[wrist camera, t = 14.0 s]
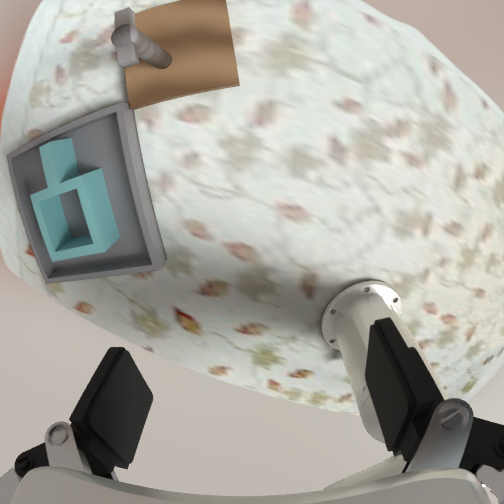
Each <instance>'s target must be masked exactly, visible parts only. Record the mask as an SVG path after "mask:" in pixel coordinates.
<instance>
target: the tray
mask: <svg viewBox="0 0 504 504" xmlns="http://www.w3.org/2000/svg"><path fill="white" fill-rule="evenodd" d="M68 138H72V142H73V148H74V152H75V157H76V162H77V166H78V171H79V175H82V174H85V173H88V172H91V171H94V170H97V169H100V168H102V172H103V176H104V180H105V184H106V188H107V192H108V196H109V200H110V203H111V207H112V211H113V214H114V217H115V221H116V224H117V228H118V231H119V234H120V238H119V239H118V240H117V241H116V242H115V243H114V244H113V245H112V246H111V247H110V248H109V249H108V250H107V251H106V252H102V253H97V254H91V255H86V256H80V257H75V258H70V259H65V260H60V261H54V262H52V260H51V258H50V255H49V252H48V250H47V247H46V244H45V242H44V239H43V236H42V233H41V230H40V227H39V224H38V221H37V218H36V215H35V211H34V208H33V204H32V201H31V197H30V195H32V194H34V193H36V192H38V191H41V190H43V189H45V188H48V186H47V182H46V178H45V174H44V169H43V165H42V160H41V155H40V150H39V147H41V146H43V145H45V144H47V143H49V142H51V141H56V140H62V139H68ZM7 159H8V164H9V169H10V174H11V179H12V183H13V187H14V192H15V195H16V199H17V203H18V207H19V210H20V214H21V217H22V220H23V224H24V227H25V230H26V233H27V236H28V239H29V242H30V244H31V247H32V250H33V253H34V255H35V258H36V260H37V263H38V266H39V268H40V270H41V273H42V275H43V278H44V280H45V282H46V284H50V283H58V282H67V281H75V280H84V279H92V278H100V277H109V276H117V275H125V274H133V273H141V272H150V271H158V270H161V268H162V267H163V265H164V263H165V261H166V260H167V257H166V254H165V250H164V247H163V243H162V240H161V236H160V232H159V228H158V224H157V220H156V217H155V213H154V208H153V204H152V200H151V196H150V192H149V187H148V183H147V178H146V174H145V169H144V164H143V159H142V154H141V149H140V144H139V139H138V133H137V128H136V122H135V116H134V110H133V109H130V106H129V103H124V102H121V103H118V104H115V105H112V106H110V107H107V108H104V109H102V110H99V111H96V112H94V113H91V114H89V115H86V116H84V117H82V118H79V119H77V120H75V121H72V122H70V123H68V124H66V125H63V126H61V127H59V128H57V129H55V130H53V131H51V132H49V133H47V134H45V135H43V136H41V137H39V138H37V139H35V140H33V141H31V142H29V143H28V144H26V145H24V146H22V147H20V148H19V149H17V150H15V151H13V152H12V153H10V154H8V155H7ZM59 197H60V200H61V204H62V207H63V211H64V214H65V217H66V220H67V224H68V227H69V230H70V233H71V236H72V238H75V237H80V236H84V235H88V234H90V231H89V228H88V225H87V222H86V219H85V216H84V212H83V209H82V205H81V202H80V198H79V195H78V191H77V188H76V189H73V190H71V191H68V192H65V193H62V194H59Z"/></svg>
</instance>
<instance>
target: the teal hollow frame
mask: <svg viewBox="0 0 504 504" xmlns="http://www.w3.org/2000/svg"><path fill="white" fill-rule="evenodd" d="M39 150H40V155H41V160H42V165H43V169H44V174H45V178H46V182H47V186H48V188H45V189H43V190H41V191H38V192H36V193H34V194H32V195H30V197H31V201H32V204H33V208H34V211H35V215H36V218H37V221H38V224H39V227H40V230H41V233H42V236H43V239H44V242H45V244H46V247H47V250H48V252H49V255H50V258H51V260H52V262H54V261H60V260H65V259H70V258H75V257H80V256H86V255H91V254H97V253H102V252H106V251H107V250H108V249H109V248H110V247H111V246H112V245H113V244H114V243H115V242H116V241H117V240H118V239H119V238H120V234H119V231H118V228H117V224H116V221H115V217H114V214H113V211H112V207H111V203H110V200H109V196H108V192H107V188H106V184H105V180H104V176H103V172H102V168H100V169H97V170H94V171H91V172H88V173H85V174H82V175H79V171H78V166H77V162H76V157H75V152H74V148H73V142H72V138H68V139H62V140H56V141H51V142H49V143H47V144H45V145H43V146H41V147H39ZM76 188H77V191H78V195H79V198H80V202H81V205H82V209H83V212H84V216H85V219H86V222H87V225H88V228H89V231H90V234H88V235H84V236H80V237H75V238H72V236H71V233H70V230H69V227H68V224H67V220H66V217H65V214H64V211H63V207H62V204H61V200H60V197H59V194H62V193H65V192H68V191H71V190H73V189H76Z"/></svg>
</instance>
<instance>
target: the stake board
mask: <svg viewBox="0 0 504 504" xmlns="http://www.w3.org/2000/svg"><path fill="white" fill-rule="evenodd" d="M114 14H115V31H114V32H113V34H112V37H111V41H112V43H113V45H115V46H117V56H118V65H119V66H121V67H124V69H125V77H126V85H127V92H128V99H129V106H130V109H138V108H142V107H145V106H149V105H152V104H156V103H160V102H163V101H167V100H171V99H175V98H179V97H184V96H188V95H193V94H197V93H202V92H207V91H212V90H218V89H224V88H230V87H236V86H240V84H239V78H238V72H237V65H236V59H235V53H234V47H233V41H232V35H231V29H230V23H229V17H228V11H227V5H226V0H180V1H176V2H172V3H169V4H165V5H162V6H158V7H155V8H152V9H149V10H145V11H142V12H140V13H137V14H134V11H132V10H131V9H130V8H129V7H128V8H125V9H123V10H120V11H118V12H115V13H114Z"/></svg>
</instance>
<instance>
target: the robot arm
mask: <svg viewBox="0 0 504 504" xmlns="http://www.w3.org/2000/svg"><path fill="white" fill-rule="evenodd" d="M401 314H402V302H401V299H400V296H399V295H398V293H397V292H396V290H395V289H394V288H393V287H391V286H390V285H388V284H386V283H384V282H380V281H364V282H360V283H357V284H354V285H352V286H350V287H348V288H346V289H345V290H343V291H342V292H340V293H339V294H338V295H337V296H336V297H334V298H333V300H332V301H331V302H330V303H329V304H328V306H327V308H326V310H325V311H324V314H323V317H322V322H321V328H322V333H323V336H324V338H325V340H326V342H327V343H328V344H329V345H330V346H331V347H333V348H334V349H336V350H339V351H340V353H341V356H342V359H343V362H344V365H345V368H346V371H347V374H348V377H349V380H350V383H351V386H352V389H353V392H354V396H355V399H356V402H357V405H358V409H359V412H360V415H361V418H362V421H363V424H364V427H365V429H366V430H367V432H368V433H369V434H370V435H371V436H372V437H373V438H375V439H376V440H378V441H380V442H382V443H385V444H386V447H387V449H388V451H393V454H394V455H393V456H391V457H390V458H388V459H386V460H384V461H383V462H381V463H379V464H377V465H374V466H373V467H370V468H368V469H366V470H363V471H361V472H359V473H356V474H354V475H352V476H349V477H347V478H345V479H342V480H340V481H337V482H335V483H333V484H331V485H329V486H328V487H326V488H324V489H323V490H322V491H314V492H307V493H298V494H287V495H273V496H213V495H199V494H188V493H180V492H171V491H165V490H159V489H153V488H147V487H142V486H137V485H132V484H128V483H124V482H119V480H118V478H117V476H116V474H115V472H114V467H115V466H116V467H120V468H124V469H128V466H129V464H130V463H132V461H133V459H134V455H135V452H136V449H137V446H138V443H139V440H140V436H141V434H142V431H143V428H144V425H145V422H146V419H147V416H148V413H149V410H150V407H151V404H152V402H153V394H152V392H151V390H150V389H149V387H148V385H147V383H146V382H145V380H144V378H143V377H142V375H141V373H140V371H139V370H138V368H137V366H136V364H135V362H134V360H133V359H132V357H131V355H130V353H129V352H128V351H126V350H125V348H123V347H111V348H109V349H108V351H107V353H106V354H105V356H104V358H103V359H102V361H101V363H100V364H99V366H98V368H97V370H96V371H95V373H94V375H93V377H92V378H91V380H90V382H89V384H88V385H87V387H86V389H85V390H84V392H83V394H82V396H81V398H80V400H79V401H78V403H77V405H76V407H75V409H74V411H73V413H72V414H71V416H70V418H69V420H70V421H71V422H72V423H71V425H69V424H68V423H66V422H57V423H55V424H53V425H51V426H50V427H49V428H48V430H47V432H46V434H45V443H42V444H40V445H38V446H36V447H34V448H32V449H30V450H27V451H25V452H23V453H21V454H20V455H19V456H18V457H17V459H16V461H15V469H13V468H11V469H10V470H9V471H8V472H6V473H5V474H4V475H3V476H2V477H0V504H492V503H491V501H490V500H489V498H488V495H487V493H486V491H485V489H484V488H485V486H488V487H489V488H490V489H491V491H490V492H491V493H493V494H494V495H495V496H496V497H497V498H498V502H499V504H504V425H501V424H497V423H493V422H490V421H486V420H483V419H480V418H476V417H473V411H472V408H471V407H470V405H469V404H468V403H467V402H465V401H464V400H461V399H457V398H451V399H450V398H449V396H448V395H447V393H446V391H445V390H444V388H443V386H442V384H441V383H440V381H439V379H438V377H437V376H436V374H435V372H434V370H433V369H432V367H431V365H430V363H429V362H428V360H427V358H426V357H425V355H424V353H423V352H422V350H421V348H420V347H419V345H418V344H417V342H416V340H415V339H414V337H413V336H412V334H411V332H410V331H409V329H408V328H407V326H406V325H405V323H404V321H403V320H402V318H401Z"/></svg>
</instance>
